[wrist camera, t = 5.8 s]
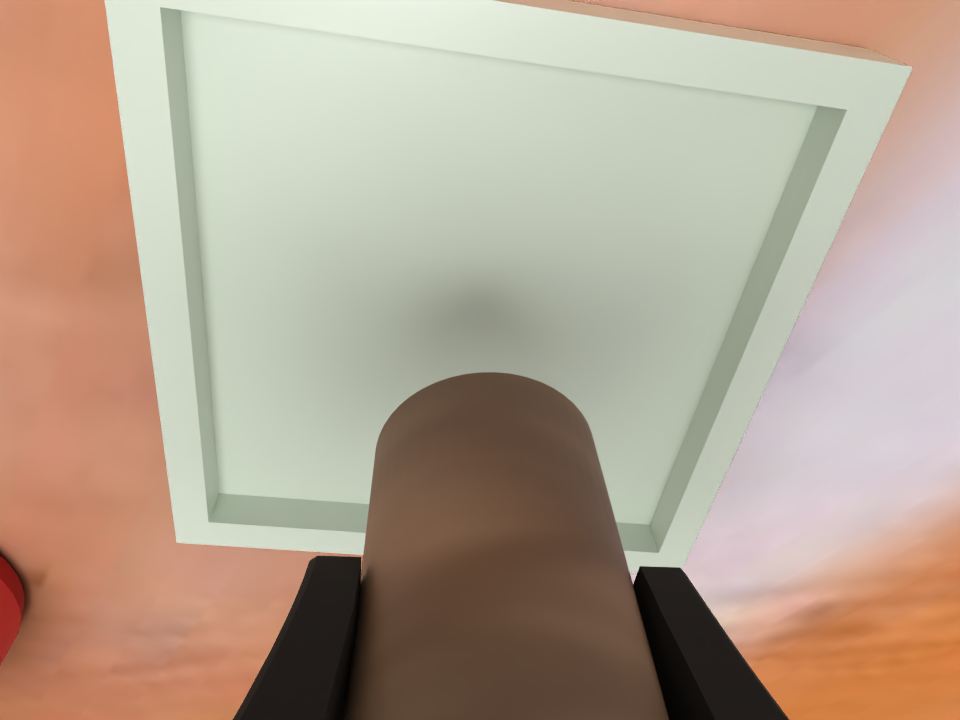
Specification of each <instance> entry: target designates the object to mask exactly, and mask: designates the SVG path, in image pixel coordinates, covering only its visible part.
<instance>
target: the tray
mask: <svg viewBox="0 0 960 720" xmlns="http://www.w3.org/2000/svg"><path fill="white" fill-rule="evenodd" d="M105 7H106V14H107V22H108V29H109V37H110V44H111V52H112V60H113V67H114V75H115V82H116V90H117V97H118V105H119V112H120V120H121V127H122V135H123V142H124V150H125V157H126V165H127V173H128V180H129V188H130V195H131V203H132V210H133V218H134V225H135V233H136V240H137V248H138V255H139V263H140V270H141V278H142V286H143V293H144V301H145V308H146V316H147V323H148V331H149V338H150V346H151V353H152V361H153V368H154V376H155V384H156V391H157V399H158V406H159V414H160V421H161V429H162V436H163V444H164V451H165V459H166V466H167V474H168V481H169V489H170V497H171V504H172V512H173V519H174V527H175V534H176V542H177V543H188V544H204V545H219V546H234V547H250V548H265V549H281V550H296V551H312V552H327V553H342V554H358V555H363V553H364V545H365V536H366V528H367V519H368V511H369V502H370V493H371V485H372V476H373V468H374V459H375V451H376V445H377V441H378V437H379V435H380V432H381V430H382V428H383V426H384V424H385V423H386V421H387V420H388V418H389V417H390V415H391V414H392V413H393V412H394V411H395V410H396V409H397V408H398V406H399V405H400V404H402V403H403V402H404V401H405V400H406V399H408V398H409V397H410V396H412V395H413V394H415V393H416V392H418V391H420V390H421V389H423V388H425V387H427V386H429V385H431V384H433V383H435V382H438V381H441V380H444V379H447V378H450V377H454V376H459V375H463V374H470V373H479V372H499V373H509V374H515V375H520V376H524V377H528V378H531V379H534V380H537V381H540V382H542V383H544V384H546V385H548V386H550V387H552V388H554V389H556V390H557V391H559V392H560V393H562V394H563V395H565V396H566V397H567V398H568V399H569V400H570V401H571V402H573V403H574V404H575V406H576V407H577V408H578V409H579V410H580V411H581V413H582V414H583V416H584V417H585V419H586V421H587V422H588V425H589V427H590V430H591V432H592V436H593V439H594V443H595V447H596V451H597V454H598V458H599V462H600V465H601V469H602V473H603V476H604V480H605V484H606V487H607V491H608V495H609V499H610V502H611V506H612V510H613V513H614V517H615V521H616V524H617V528H618V532H619V536H620V539H621V543H622V547H623V550H624V554H625V558H626V561H627V565H628V569H629V572H636V573H638V570H639V567H640V566H649V567H680V568H681V569H682V568H683V566H684V564H685V562H686V560H687V557H688V555H689V553H690V551H691V549H692V546H693V544H694V542H695V540H696V538H697V536H698V533H699V531H700V529H701V527H702V525H703V523H704V520H705V518H706V516H707V514H708V512H709V510H710V507H711V505H712V503H713V501H714V499H715V496H716V494H717V492H718V490H719V488H720V486H721V483H722V481H723V479H724V477H725V475H726V473H727V470H728V468H729V466H730V464H731V462H732V460H733V457H734V455H735V453H736V451H737V449H738V447H739V444H740V442H741V440H742V438H743V436H744V433H745V431H746V429H747V427H748V425H749V423H750V420H751V418H752V416H753V414H754V412H755V410H756V407H757V405H758V403H759V401H760V399H761V397H762V394H763V392H764V390H765V388H766V386H767V383H768V381H769V379H770V377H771V375H772V373H773V370H774V368H775V366H776V364H777V362H778V360H779V357H780V355H781V353H782V351H783V349H784V347H785V344H786V342H787V340H788V338H789V336H790V333H791V331H792V329H793V327H794V325H795V323H796V320H797V318H798V316H799V314H800V312H801V310H802V307H803V305H804V303H805V301H806V299H807V297H808V294H809V292H810V290H811V288H812V286H813V283H814V281H815V279H816V277H817V275H818V273H819V270H820V268H821V266H822V264H823V262H824V260H825V257H826V255H827V253H828V251H829V249H830V247H831V244H832V242H833V240H834V238H835V236H836V233H837V231H838V229H839V227H840V225H841V223H842V220H843V218H844V216H845V214H846V212H847V210H848V207H849V205H850V203H851V201H852V199H853V197H854V194H855V192H856V190H857V188H858V186H859V183H860V181H861V179H862V177H863V175H864V173H865V170H866V168H867V166H868V164H869V162H870V160H871V157H872V155H873V153H874V151H875V149H876V147H877V144H878V142H879V140H880V138H881V136H882V133H883V131H884V129H885V127H886V125H887V123H888V120H889V118H890V116H891V114H892V112H893V110H894V107H895V105H896V103H897V101H898V99H899V97H900V94H901V92H902V90H903V88H904V86H905V83H906V81H907V79H908V77H909V75H910V73H911V70H912V68H913V67H911V66H909V65H906V64H904V63H901V62H899V61H896V60H894V59H891V58H889V57H886V56H884V55H881V54H879V53H876V52H874V51H871V50H869V49H866V48H862V47H856V46H849V45H843V44H837V43H831V42H824V41H818V40H812V39H806V38H800V37H793V36H787V35H781V34H775V33H769V32H762V31H756V30H750V29H744V28H737V27H731V26H725V25H719V24H713V23H706V22H700V21H694V20H688V19H682V18H675V17H669V16H663V15H657V14H650V13H644V12H638V11H632V10H626V9H619V8H613V7H607V6H601V5H595V4H588V3H582V2H576V1H570V0H105Z"/></svg>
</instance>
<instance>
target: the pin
mask: <svg viewBox="0 0 960 720" xmlns="http://www.w3.org/2000/svg"><path fill="white" fill-rule="evenodd" d="M344 720H669V717H668V713H667V709H666V705H665V702H664V698H663V694H662V691H661V687H660V683H659V680H658V676H657V672H656V669H655V665H654V661H653V657H652V654H651V650H650V646H649V643H648V639H647V635H646V632H645V628H644V624H643V621H642V617H641V613H640V609H639V606H638V602H637V598H636V595H635V591H634V587H633V584H632V580H631V576H630V572H629V569H628V565H627V561H626V558H625V554H624V550H623V547H622V543H621V539H620V536H619V532H618V528H617V524H616V521H615V517H614V513H613V510H612V506H611V502H610V499H609V495H608V491H607V487H606V484H605V480H604V476H603V473H602V469H601V465H600V462H599V458H598V454H597V451H596V447H595V443H594V439H593V436H592V432H591V430H590V427H589V425H588V422H587V421H586V419H585V417H584V416H583V414H582V413H581V411H580V410H579V409H578V408H577V407H576V406H575V404H574V403H573V402H571V401H570V400H569V399H568V398H567V397H566V396H565V395H563V394H562V393H560V392H559V391H557V390H556V389H554V388H552V387H550V386H548V385H546V384H544V383H542V382H540V381H537V380H534V379H531V378H528V377H524V376H520V375H515V374H509V373H499V372H479V373H470V374H463V375H459V376H454V377H450V378H447V379H444V380H441V381H438V382H435V383H433V384H431V385H429V386H427V387H425V388H423V389H421V390H420V391H418V392H416V393H415V394H413V395H412V396H410V397H409V398H408V399H406V400H405V401H404V402H403V403H402V404H400V405H399V406H398V408H397V409H396V410H395V411H394V412H393V413H392V414H391V415H390V417H389V418H388V420H387V421H386V423H385V424H384V426H383V428H382V430H381V432H380V435H379V437H378V441H377V445H376V451H375V459H374V468H373V476H372V485H371V493H370V502H369V511H368V519H367V528H366V536H365V545H364V553H363V562H362V571H361V586H360V595H359V604H358V612H357V621H356V629H355V638H354V647H353V653H352V659H351V665H350V673H349V682H348V691H347V699H346V708H345V716H344Z"/></svg>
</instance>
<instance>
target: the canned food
mask: <svg viewBox="0 0 960 720" xmlns="http://www.w3.org/2000/svg"><path fill="white" fill-rule="evenodd" d="M24 604H25V597H24V589H23V586H22V584H21V582H20V580H19V577H18V575H17V574H16V573H15V571H14V570H13V569H12V567H11V566H10V565H9V564H8V562H7V561H6V560H5V559H4V558H3V557H1V556H0V665H1V663H2V661H3V659H4V658H5V656H6V654H7V652H8V650H9V649H10V647H11V645H12V643H13V641H14V640H15V638H16V636H17V634H18V632H19V628H20V624H21V620H22V615H23V609H24Z"/></svg>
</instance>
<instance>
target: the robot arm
mask: <svg viewBox="0 0 960 720" xmlns="http://www.w3.org/2000/svg"><path fill="white" fill-rule="evenodd" d="M360 586H361V557H338V556H317V557H315V558H314V559H312V560H311V561H310V562H309V564H308V567H307V570H306V573H305V576H304V579H303V581H302V584H301V586H300V589H299V591H298V594H297V596H296V598H295V601H294V603H293V605H292V608H291V610H290V612H289V614H288V616H287V618H286V621H285V623H284V625H283V627H282V629H281V631H280V633H279V635H278V637H277V639H276V641H275V643H274V645H273V647H272V649H271V651H270V653H269V655H268V657H267V659H266V660H265V662H264V664H263V666H262V668H261V670H260V672H259V673H258V675H257V677H256V679H255V681H254V683H253V685H252V686H251V688H250V690H249V692H248V694H247V696H246V698H245V699H244V701H243V703H242V705H241V706H240V708H239V710H238V712H237V713H236V715H235V717H234V719H233V720H344V716H345V708H346V699H347V691H348V682H349V673H350V665H351V659H352V653H353V647H354V638H355V629H356V621H357V612H358V604H359V595H360ZM633 587H634V591H635V595H636V598H637V602H638V606H639V609H640V613H641V617H642V621H643V624H644V628H645V632H646V635H647V639H648V643H649V646H650V650H651V654H652V657H653V661H654V665H655V669H656V672H657V676H658V680H659V683H660V687H661V691H662V694H663V698H664V702H665V705H666V709H667V713H668V717H669V720H789V719H788V717H787V716H786V715H785V713H784V712H783V711H782V709H781V708H780V707H779V705H778V704H777V703H776V701H775V700H774V699H773V697H772V696H771V695H770V693H769V692H768V691H767V689H766V688H765V687H764V685H763V684H762V683H761V681H760V680H759V679H758V677H757V676H756V675H755V673H754V672H753V670H752V669H751V668H750V666H749V665H748V664H747V662H746V661H745V659H744V658H743V657H742V655H741V654H740V652H739V651H738V650H737V648H736V647H735V645H734V644H733V642H732V641H731V640H730V638H729V637H728V635H727V634H726V632H725V631H724V630H723V628H722V627H721V625H720V624H719V622H718V621H717V619H716V618H715V617H714V615H713V614H712V612H711V611H710V609H709V608H708V606H707V605H706V603H705V602H704V600H703V599H702V598H701V596H700V595H699V593H698V592H697V590H696V589H695V587H694V586H693V584H692V583H691V581H690V580H689V578H688V577H687V575H686V574H685V573H684V571H683V570H682V569H681V568H680V567H649V566H640V567H639V570H638V573H637V576H636V579H635V582H634V585H633Z"/></svg>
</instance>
